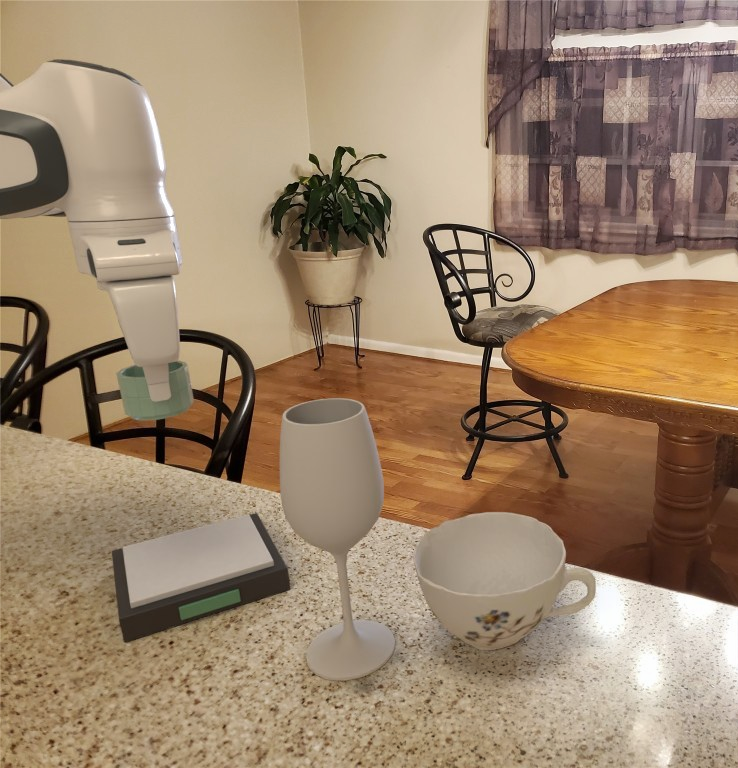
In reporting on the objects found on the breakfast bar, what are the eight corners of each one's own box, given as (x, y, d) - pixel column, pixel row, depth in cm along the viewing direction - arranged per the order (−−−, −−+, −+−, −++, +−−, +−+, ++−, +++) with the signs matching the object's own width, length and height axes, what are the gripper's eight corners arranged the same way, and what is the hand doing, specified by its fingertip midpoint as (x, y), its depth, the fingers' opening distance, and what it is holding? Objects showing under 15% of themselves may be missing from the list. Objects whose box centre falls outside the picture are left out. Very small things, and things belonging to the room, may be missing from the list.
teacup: (396, 669, 54) (388, 582, 52) (445, 580, 66) (440, 505, 64) (585, 696, 51) (586, 604, 49) (601, 597, 63) (603, 519, 60)
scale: (124, 645, 58) (117, 614, 57) (116, 571, 69) (110, 545, 68) (291, 591, 65) (287, 563, 64) (260, 532, 76) (256, 507, 75)
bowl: (128, 426, 65) (118, 382, 64) (123, 409, 71) (114, 367, 69) (199, 413, 69) (191, 370, 67) (189, 397, 74) (182, 356, 72)
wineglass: (283, 668, 55) (246, 422, 48) (340, 613, 61) (314, 390, 55) (363, 692, 52) (335, 435, 46) (414, 632, 59) (395, 400, 52)
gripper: (87, 244, 72) (114, 371, 76) (94, 263, 55) (129, 424, 59) (154, 239, 75) (176, 361, 79) (180, 256, 58) (207, 409, 62)
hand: (156, 389), depth 69 cm, fingers closed on bowl, 6 cm apart
